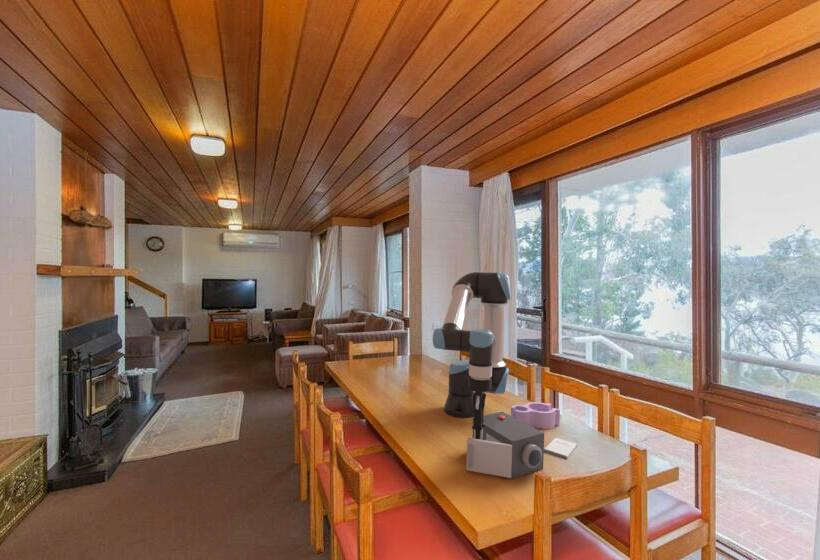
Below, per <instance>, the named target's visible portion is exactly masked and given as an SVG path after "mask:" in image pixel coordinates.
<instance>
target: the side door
mask: <svg viewBox="0 0 820 560" xmlns="http://www.w3.org/2000/svg"><path fill="white" fill-rule="evenodd" d="M465 464H466V467H465V469H466V471H470V472H476V473H481V474H486V475H492V476H498V477H504V478H509V479H511V465H512V445H511V444H505V443H499V442H492V441H486V440H480V439H473V438H472V437H466V463H465Z"/></svg>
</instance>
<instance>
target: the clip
mask: <svg viewBox="0 0 820 560" xmlns="http://www.w3.org/2000/svg"><path fill="white" fill-rule="evenodd" d="M510 416H512V417H514V418H516V419H518V420H520V421H522V422H524V423H526V424H528V425H530V426H532V427H536V429H539V428H543V429H542V430H550V429H549V428H551V429H553V427H554V428H555V426H557V427H559V426H560V425H561V423H560V419H561V418H560V417H561V409H559V408H555V407H552V403H549V402H547V403H544V402H538V401H537V402H536V401H534V402H532V401H531V402H527V403H525V404H514V405H511V407H510Z"/></svg>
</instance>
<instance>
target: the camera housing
mask: <svg viewBox="0 0 820 560" xmlns="http://www.w3.org/2000/svg"><path fill="white" fill-rule="evenodd" d="M483 420H484V422H483V424H484V425H485V427H482V428H483V440H486V441H492V442H499V443H505V444H511V445H512V465H511V478H510V479H511V480H513V479H516V478H519V477H522V476H525V475H529V474H532V473H534V472H538V471H541V470H543V469H544V460H545V459H544V458H545V457H544V456H545V455H544V454H545V452H544V449H545V432H543V431H542V430H540V429H539V428H534V427H532V426H530V425H528V424H526V423H524V422H522V421H520V420H518V419H516V418H514V417H512V416H511V414H509V413H506V412H504V411H500V412H494V413H490V414H484V418H483ZM472 426H474V417H472ZM471 438H473V439H474V429H472V437H471ZM540 469H541V470H540ZM531 472H532V473H531Z"/></svg>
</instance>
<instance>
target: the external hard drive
mask: <svg viewBox="0 0 820 560" xmlns="http://www.w3.org/2000/svg"><path fill="white" fill-rule="evenodd" d="M576 448H578V444H577V443H576V442H571V441H569V440H565V439H562V438H559V437H554V438H553V439H552V440H551V441H550V443H548V444H547V446H545V447H544V453H547V454H551V455H554V456H557V457H560V458H563V459H566V460H568V459H569V458H570V456H571V455H572V454H573V452H574V451H575V450H576Z"/></svg>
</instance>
